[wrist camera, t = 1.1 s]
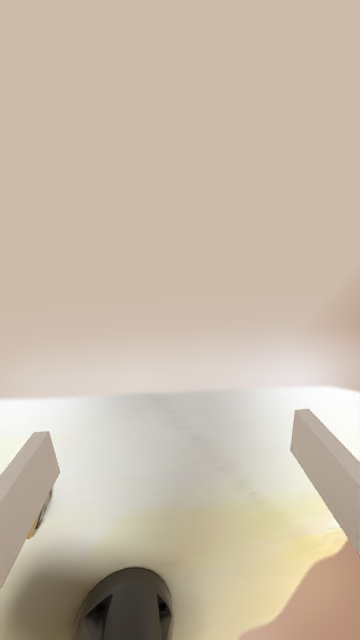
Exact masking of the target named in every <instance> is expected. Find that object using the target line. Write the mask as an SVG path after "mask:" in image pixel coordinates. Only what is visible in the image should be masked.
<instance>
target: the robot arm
mask: <svg viewBox="0 0 360 640" xmlns="http://www.w3.org/2000/svg"><path fill="white" fill-rule="evenodd" d="M290 450H291V452H292V453H293V455H294V456H295V458H296V459H297V461H298V462H299V464H300V466H301V467H302V469H303V470H304V472H305V473H306V475H307V476H308V478H309V479H310V481H311V482H312V484H313V485H314V487H315V489H316V490H317V492H318V493H319V495H320V496H321V498H322V499H323V501H324V502H325V504H326V505H327V507H328V508H329V510H330V512H331V513H332V515H333V516H334V518H335V519H336V521H337V522H338V524H339V525H340V527H341V528H342V530H343V531H344V533H345V535H346V536H347V538H348V539H349V541H350V542H351V544H352V545H353V547H354V548H355V550H356V551H357V553H358V554H359V556H360V462H359V461H358V460H357V459H356V458H355V457H354V456H353V455H352V454H351V453H350V452H349V451H348V450H347V448H346V447H345V446H344V445H343V444H342V443H341V442H340V441H339V440H338V439H337V438H336V437H335V436H334V435H333V434H332V433H331V432H330V431H329V430H328V429H327V428H326V426H325V425H324V424H323V423H322V422H321V421H320V420H319V419H318V418H317V417H316V416H315V415H314V414H313V413H312V412H311V411H310V410H309V409H302V410H295V415H294V424H293V432H292V441H291V449H290ZM59 473H60V470H59V466H58V463H57V459H56V455H55V452H54V448H53V444H52V441H51V437H50V433H49V431H47V432H35V433H33V434H32V436H31V437H30V438H29V440H28V441H27V442H26V443H25V445H24V446H23V447H22V449H21V450H20V451H19V452H18V454H17V455H16V456H15V458H14V459H13V460H12V462H11V463H10V464H9V465H8V467H7V468H6V469H5V471H4V472H3V473H2V474H1V476H0V589H1V588H2V586H3V584H4V582H5V580H6V578H7V576H8V574H9V572H10V570H11V568H12V566H13V564H14V562H15V560H16V558H17V556H18V554H19V552H20V550H21V548H22V546H23V544H24V542H25V540H26V538H27V536H28V534H29V532H30V530H31V528H32V526H33V524H34V522H35V520H36V518H37V516H38V514H39V512H40V510H41V508H42V506H43V504H44V502H45V501H46V499H47V497H48V495H49V493H50V491H51V489H52V487H53V485H54V483H55V481H56V479H57V477H58V475H59ZM172 636H173V612H172V604H171V598H170V593H169V590H168V588H167V586H166V584H165V583H164V581H163V580H162V579H161V578H160V577H159V576H158V575H156V574H155V573H153V572H151V571H149V570H145V569H140V568H132V569H126V570H122V571H119V572H117V573H114V574H112V575H110V576H109V577H107V578H106V579H104V580H103V581H101V582H100V583H99V584H98V585H97V586H96V587H95V588H94V589H93V590H92V591H91V592H90V593H89V595H88V596H87V597H86V599H85V600H84V602H83V604H82V606H81V608H80V610H79V612H78V615H77V618H76V621H75V626H74V631H73V636H72V640H172Z"/></svg>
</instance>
